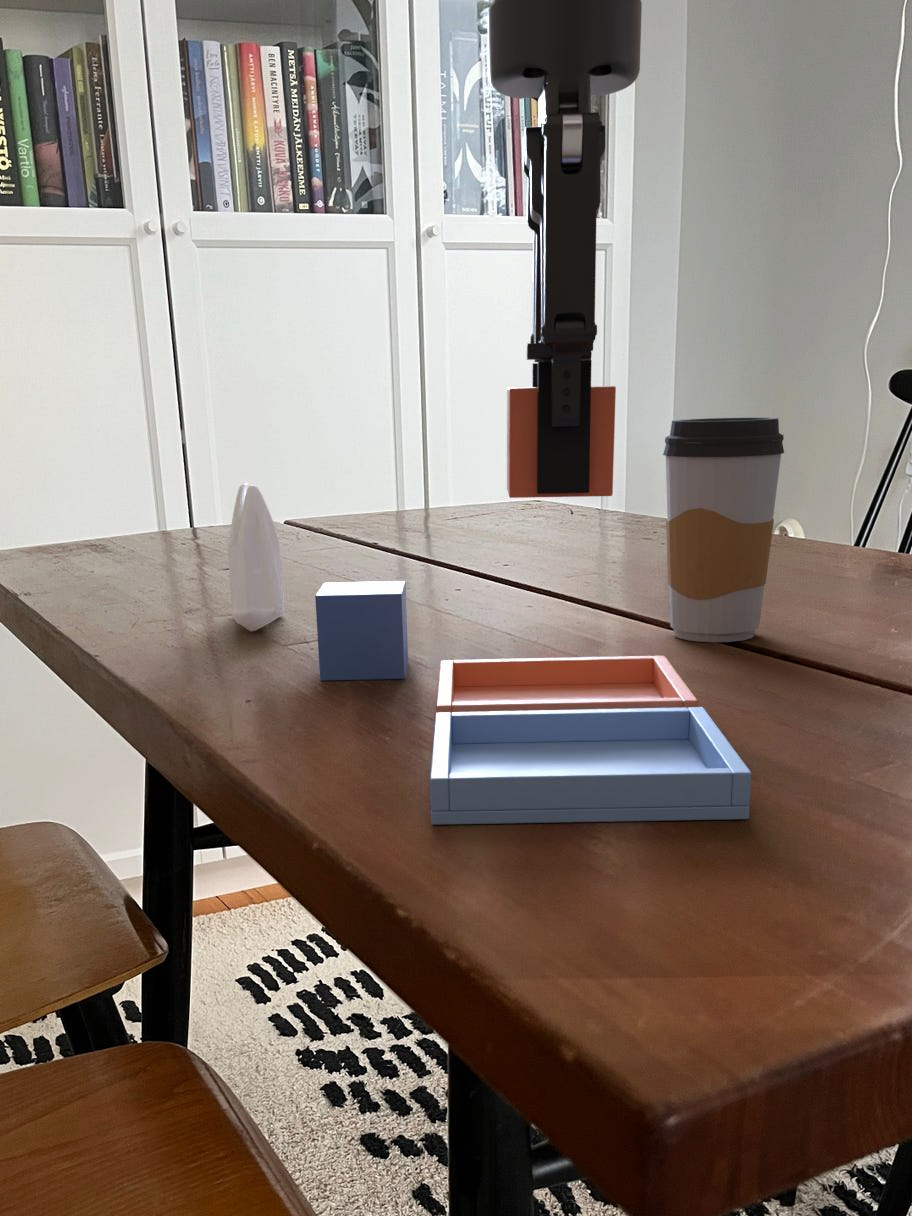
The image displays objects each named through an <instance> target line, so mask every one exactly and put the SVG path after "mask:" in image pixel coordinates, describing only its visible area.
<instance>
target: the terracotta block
mask: <svg viewBox="0 0 912 1216" xmlns="http://www.w3.org/2000/svg"><path fill="white" fill-rule="evenodd" d="M616 392H617V387H616V385H591V416H590V470H589V493H552V494H538V493H537V395H538V387H532V386H531V387H530V386H529V387H507V389H506V490H507V494H508V497H509V498H510V499H515V498H516V499H520V498H521V499H522V498H525V499H526V498H527V499H528V498H529V499H530V498H581V497H582V498H583V497H587V498H588V497H590V498H591V497H612V496H613V493H614V464H615V463H614V462H615V461H614V459H615V457H614V456H615V429H616V426H615V425H616V397H617V396H616V395H617V393H616Z"/></svg>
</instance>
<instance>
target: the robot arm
mask: <svg viewBox="0 0 912 1216" xmlns="http://www.w3.org/2000/svg"><path fill="white" fill-rule="evenodd" d="M642 5H643V2H642V1H641V0H493V1H492V3H491V5H490V7H489V8H488V9H487V77H488V81H489V85H490V86H491V87H492V89H493V90H494V91H495V92H497V93H498V94H499V95H500V94H501V95H503V96H505V97H509V98H513V99H518V100H519V99H520V100H523V99H529V98H530V99H532V100H533V101H536V102H537V103H538V115H537V116H538V117H537V125H536V126H525V127H524V136H522V167H523V172H524V174H525V175H526V177H527V178H526V182H527V183H526V184H527V185H526V220H527V225H528V227H529V229H530V230H531V231H532V332H531V334H530V335H529V343H527V345H526V360H527V361H534V363H532V369H531V370H532V377H531V378H532V381H531V382H532V386H531V387H538V395H537V493H538V494H552V493H589V470H590V416H591V386H592V356H593V355H592V354H593V353H592V352H593V351H594V343H595V341H596V337H597V335H598V325H597V324H596V277H597V276H596V275H597V274H596V273H597V271H596V269H597V268H596V267H597V266H596V264H597V218H598V215H599V210H600V205H601V166H602V164H603V161H604V156H605V152H606V124H604V123H603V121H602V120H601V117H600V116H601V115H600V113H599V112H592V96H598V97H603V96H607V95H610V94H615V93H617V92H620V91H623V90H624V89H625V90H626V89H627V88H628V87H630V86H631V85H633V83H635V82H636V80H637V79H638V77H639V74H640V70H641V45H642V13H643V11H642V9H643V6H642Z"/></svg>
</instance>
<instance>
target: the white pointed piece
mask: <svg viewBox="0 0 912 1216" xmlns="http://www.w3.org/2000/svg"><path fill="white" fill-rule="evenodd" d="M227 560H228V561H227V563H228V573H229V574H228V576H229V577H228V578H229V589H230V590H229V591H230V605H231V613H230V614H231V616H232V618H233V620H234V621H235V622H236V624H237V625H240V626H242V627H243V628H245V629H246V630H248V631H249V632H256V631H257V630H259V629H261V628H263V627H266V626H267V625H269V624H271V623H273V622H274V621H276V620H277V619H278V618H280V617H282V615H283V614H284V612H286V608H285V598H284V595H285V594H284V583H283V568H282V557H281V545H280V539H279V536H278V531H277V529H276V525H275V523H274V520H273V517H272V515H271V512H270V510H269V507H268V505H267V502H266V500H265V498H264V496H263V494H262V492H261V491H260V488H259V487H258V486H257V485H256V484H249V483H243V484H241V485H240V486H239V487H238V490H237V493H236V498H235V503H234V508H233V512H232V518H231V525H230V531H229V536H228V543H227Z"/></svg>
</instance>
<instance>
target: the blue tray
mask: <svg viewBox="0 0 912 1216" xmlns="http://www.w3.org/2000/svg"><path fill="white" fill-rule="evenodd" d="M752 775H753V773H752V772H751V770H750V769H749V768H748V766H747V764H745V762H744V761H743V759H742V758H741V757H740V756H739V754H738V753H737V751H736V750H735V748H734V747H733V746H732V744H731V743H730V742H729V740H728V739H727V738H726V737H725V735H724V734H723V732H722V730H721V729H720V728H719V727H718V726H717V724H716V723H715V722H714V720H713V718H712V717H711V716H710V714H709V713H708V712H707V711H706V709H705V708H704V707H703V706H698V707H689V708H686V707H682V708H633V709H585V710H536V711H487V712H452V714H451V713H450V712H442V713H437V712H436V713H435V719H434V732H433V742H432V753H431V765H430V777H429V790H430V791H429V793H430V822H431V825H432V826H440V825H445V826H446V825H492V824H493V825H501V824H504V825H505V824H543V823H544V824H549V823H550V824H555V823H557V824H558V823H559V824H560V823H561V824H562V823H613V822H614V823H615V822H616V823H617V822H659V821H660V822H666V821H667V822H668V821H670V822H671V821H719V820H720V821H722V820H723V821H724V820H725V821H726V820H729V821H730V820H732V821H733V820H749V819H750V804H751V789H752Z"/></svg>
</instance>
